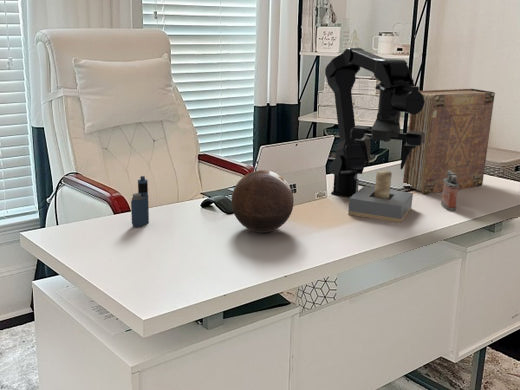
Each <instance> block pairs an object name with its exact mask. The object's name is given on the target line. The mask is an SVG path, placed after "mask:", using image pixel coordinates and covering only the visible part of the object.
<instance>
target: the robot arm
mask: <svg viewBox="0 0 520 390" xmlns="http://www.w3.org/2000/svg"><path fill="white" fill-rule="evenodd" d="M361 68H362V69H364V70H367V71H368V72H371V73H372V74H373V76H374V78H375V79H377V80H378V81H379V83H378V84H377V85H376V86H375V87H374V88H375V90H378V91H379V97H378V110H377V113H376V114H377V115H376V119H375V121H374V123H373V125H372V127H371V126H367V125H358V124H357V125H356V122H355V112H354V111H355V109H354V104H353V103H354V102H353V95H352V94H353V93H352V89H353V87H354V85H355V83H356V74H358V73H359V72H360V70H361ZM324 72H325V73H324V74H325V77H326V81H327V85H328V86H329V88H330V89H331V90H332V92H333V93H334V102H335V110H336V111H335V112H336V118H337V127H338V136H339V142H338V144H337V147H336V149H335V158H334V159H333V160H332V161H331V162H330V164H329V173H330V174H332V175H333V189H332V191H331V192H330V194H331V195H336V196H344V197H349V198H350V197H352V196H353V195H354V194H355V193H356V192H357V191H359V180H360V179H359V178H358V175H363V171H364V169H365V167H366V166H369V165H370V160H371V140H372V141H376V142H377V141H380V142H385V143H386V142H387V143H388V142H390V141H391V140H397V141H404V142H405V144H403V150H402V156H401V161H400V170H404V168H405V163H406V161H407V158H408V156H409V154H410V152H411V151H412V149H413V148H416V147H417V146H419V145H422V144H423V143H424V140H425V134H424V133H423V132H420V131H409V132H408V131H407V132H406V133H405V132H401V123H400V120H401V114H402V113H406V114H409V115H410V114H413V115H414V114H418V113H419V112H420V111H421V110H422V109H423V106H424V102H425V101H424V97H423V95H422V94H421V93H420V92H419V91H420V87H419V86H417V85H415V83H414V82H415V81H414V78H413V76H412V74H411V71H410V68H409V65H408V62H407V61H406V60H404V59H399V58H398V59H397V58H384V57H382V56H379V55H377V54H374V53H372V52H369V51H367V50H365V49H363V48H362V47H361V48H360V47H348V48H345V50H343V52H341V54H339V55H337V56H336V57H334V58H332V59H331V60H330V62H329V63H328V64H327V65H326V67H325V70H324ZM401 112H402V113H401Z"/></svg>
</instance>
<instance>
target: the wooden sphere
mask: <svg viewBox="0 0 520 390" xmlns="http://www.w3.org/2000/svg"><path fill="white" fill-rule="evenodd" d="M294 202H295V201H294V193H293V191H292V188H291V186H290V184H289V183H288V182H287V180H286V179H285V178H284V177H282V176H281V175H280V174H278V173H276V172H273V171H270V170H265V169H264V170H263V169H261V170H260V169H259V170H254V171H252V172H249V173H247V174H245V175H244V176H243V177H241V179H239V180H238V182H237V183H236V184H235V187H234V188H233V191H232V195H231V209H232V212H233V214H234V216H235V219H236V220H237V221H238V222H239V223H240V224H241V226H243V227H245V228H246V229H248V230H250V231H252V232H255V233H268V232H273V231H275V230H278V229H279V228H281V227H282V226H283V225H284V224H286V222H287V221H288V219H289V218H290V217H291V215H292V212H293V209H294Z"/></svg>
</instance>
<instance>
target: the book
mask: <svg viewBox="0 0 520 390" xmlns="http://www.w3.org/2000/svg"><path fill="white" fill-rule="evenodd" d="M419 92H420V93H421V94H422V95H423V97H424V101H425V102H424V106H423V109H422V110H421V111H420V112H419V113H418V114H414V115H413V114H409V120H408V121H409V123H408V129H407V132H409V131H420V132H423V133H424V134H425V140H424V143H423V144H422V145H419V146H417V147H416V148H413V149H412V151H411V152H410V154H409V156H408V158H407V161H406V163H405V165H404V168H403V170H404V171H403V177H402V178H403V179H402V184H403V183H407V184H410V185H412V188H411V189H413V190H416V191H419V192H422V194H423V195H429V194H436V193H443V188H444V178H448V177H449V176H448V175H447V171H452V172H453V173H456V176H457V179H456V181H457V182H458V183H459V188H458V190H462V189H469V188H475V187H481V186H483V182H484V175H485V169H486V167H485V166H486V161H487V153H488V145H489V138H490V131H491V125H492V123H491V122H492V118H493V117H492V116H493V109H494V102H495V95H496V92H494V91H489V90H482V89H476V88H458V89H457V88H455V89H433V90H431V89H430V90H428V89H427V90H419Z"/></svg>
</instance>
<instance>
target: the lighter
mask: <svg viewBox="0 0 520 390" xmlns="http://www.w3.org/2000/svg"><path fill="white" fill-rule="evenodd" d="M447 175H448V176H449V177H448V178H444V188H443V192H442V196H441V199H440V205H441V207H442V208H443V209H445V211H448V212H456V211H457V200H458V192H459V189H458V188H459V183H458V182H457V181H456V179H457V176H456V173H453V172H452V171H447Z"/></svg>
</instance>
